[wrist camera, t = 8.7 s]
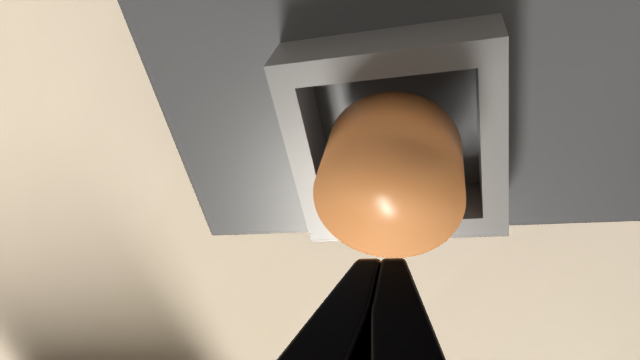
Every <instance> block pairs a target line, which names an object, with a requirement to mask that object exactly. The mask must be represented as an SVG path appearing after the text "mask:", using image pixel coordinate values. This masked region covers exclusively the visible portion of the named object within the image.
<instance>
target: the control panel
mask: <svg viewBox="0 0 640 360" xmlns="http://www.w3.org/2000/svg"><path fill="white" fill-rule="evenodd" d="M118 3H119V5H120V8H121V10H122V13H123V15H124V18H125V20H126V23H127V25H128V28H129V30H130V33H131V35H132V38H133V40H134V43H135V45H136V48H137V50H138V53H139V55H140V57H141V60H142V62H143V65H144V67H145V70H146V72H147V75H148V77H149V80H150V82H151V85H152V87H153V90H154V92H155V95H156V97H157V100H158V102H159V105H160V107H161V110H162V112H163V115H164V117H165V120H166V122H167V124H168V127H169V129H170V132H171V134H172V137H173V139H174V142H175V144H176V147H177V149H178V152H179V154H180V157H181V159H182V162H183V164H184V167H185V169H186V172H187V174H188V177H189V179H190V182H191V184H192V186H193V189H194V191H195V194H196V196H197V199H198V201H199V204H200V206H201V209H202V211H203V214H204V216H205V219H206V221H207V224H208V226H209V229H210V231H211V234H212V235H239V234H268V233H297V232H308V233H309V236H310V240H311V242H319V241H340V240H338V239H337V238H336V237H335V236H333V235H332V234H331V233H330V232H329V231H328V229H327V228H326V227H325V226H324V224H323V223H322V221H321V220H320V218H319V216H318V214H317V212H316V209H315V206H314V200H313V186H314V181H315V178H316V175H317V172H318V169H319V166H320V163H321V160H322V157H323V154H324V151H325V148H326V145H327V142H328V139H329V136H330V133H331V130H332V127H333V125H334V123H335V121H336V120H337V118H338V117H339V115H340V114H341V113H342V112H343V111H344V110H345V109H346V108H347V107H348V106H350V105H351V104H352V103H354V102H355V101H357V100H359V99H361V98H363V97H365V96H368V95H371V94H375V93H379V92H385V91H400V92H408V93H413V94H416V95H419V96H422V97H424V98H427V99H429V100H431V101H432V102H434V103H435V104H437V105H439V106H440V107H441V108H442V109H443V110H445V111H446V113H447V114H448V115H449V116H450V117H451V118H452V120H453V121H454V123H455V124H456V126H457V128H458V130H459V133H460V136H461V140H462V148H463V161H464V175H465V189H466V209H465V213H464V216H463V219H462V222H461V223H460V225H459V227H458V229H457V230H456V231H455V232H454V234H453V235H452V236H451V237H450V238H456V237H491V236H509V225H531V224H561V223H590V222H619V221H640V0H118Z"/></svg>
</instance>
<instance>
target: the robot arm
mask: <svg viewBox="0 0 640 360" xmlns="http://www.w3.org/2000/svg"><path fill="white" fill-rule="evenodd" d="M277 360H446V359H445V356H444V354H443V352H442V349H441V347H440V344H439V342H438V339H437V337H436V334H435V332H434V329H433V327H432V324H431V322H430V320H429V317H428V315H427V312H426V310H425V307H424V305H423V302H422V300H421V297H420V295H419V292H418V290H417V288H416V285H415V283H414V280H413V278H412V275H411V273H410V270H409V268H408V265H407V263H406V261H405V260H404V259H403V258H385V259H383V260H382V261H380V260H379V259H359V260H357V261H356V262H355V263H354V264H353V265H352V267H351V268H350V269H349V270H348V272H347V273H346V274H345V275H344V277H343V278H342V279H341V280H340V282H339V283H338V284H337V285H336V287H335V288H334V289H333V290H332V292H331V293H330V294H329V295H328V297H327V298H326V299H325V300H324V302H323V303H322V304H321V305H320V307H319V308H318V309H317V310H316V312H315V313H314V314H313V315H312V317H311V318H310V319H309V320H308V321H307V323H306V324H305V325H304V326H303V328H302V329H301V330H300V331H299V333H298V334H297V335H296V336H295V338H294V339H293V340H292V341H291V343H290V344H289V345H288V346H287V348H286V349H285V350H284V351H283V353H282V354H281V355H280V356H279V358H278V359H277Z"/></svg>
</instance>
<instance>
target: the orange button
mask: <svg viewBox="0 0 640 360" xmlns="http://www.w3.org/2000/svg"><path fill="white" fill-rule="evenodd" d="M313 200H314V206H315V209H316V212H317V214H318V216H319V218H320V220H321V221H322V223H323V224H324V226H325V227H326V228H327V229H328V231H329V232H330V233H331V234H332V235H333V236H335V237H336V238H337V239H338V240H340V241H341V242H342V243H344V244H345V245H347V246H349V247H351V248H353V249H355V250H357V251H360V252H362V253H366V254H369V255H373V256H378V257H385V258H403V257H410V256H416V255H419V254H423V253H425V252H428V251H430V250H432V249H434V248H436V247H438V246H440V245H441V244H443V243H444V242H445V241H447V240H448V239H449V238H450V237H451V236H452V235H453V234H454V232H455V231H456V230H457V229H458V227H459V225H460V223H461V222H462V219H463V216H464V213H465V209H466V189H465V175H464V161H463V148H462V140H461V136H460V133H459V130H458V128H457V126H456V124H455V123H454V121H453V120H452V118H451V117H450V116H449V115H448V114H447V113H446V111H445V110H443V109H442V108H441V107H440V106H439V105H437V104H435V103H434V102H432V101H431V100H429V99H427V98H424V97H422V96H419V95H416V94H413V93H408V92H400V91H385V92H379V93H375V94H371V95H368V96H365V97H363V98H361V99H359V100H357V101H355V102H354V103H352V104H351V105H350V106H348V107H347V108H346V109H345V110H344V111H343V112H342V113H341V114H340V115H339V117H338V118H337V120H336V121H335V123H334V125H333V127H332V130H331V133H330V136H329V139H328V142H327V145H326V148H325V151H324V154H323V157H322V160H321V163H320V166H319V169H318V172H317V175H316V178H315V181H314V186H313Z"/></svg>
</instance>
